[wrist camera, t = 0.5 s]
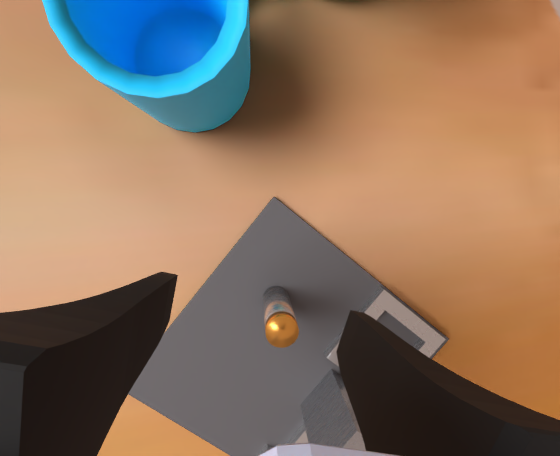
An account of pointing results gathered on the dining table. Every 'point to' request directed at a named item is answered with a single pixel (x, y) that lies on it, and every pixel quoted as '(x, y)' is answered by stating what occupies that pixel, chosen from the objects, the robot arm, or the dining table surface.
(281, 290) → the pin
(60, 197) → the dining table surface
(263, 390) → the mat
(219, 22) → the mug
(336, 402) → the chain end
